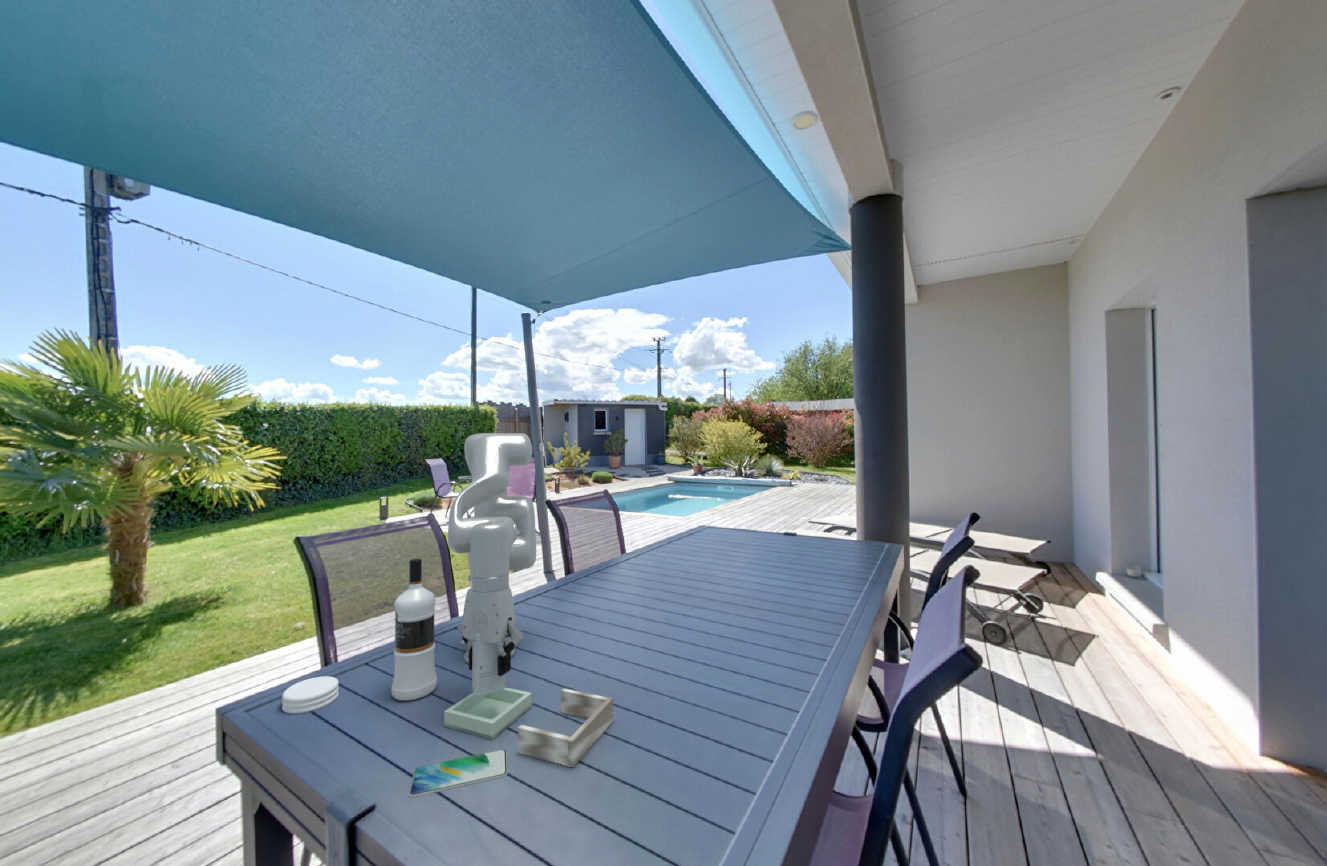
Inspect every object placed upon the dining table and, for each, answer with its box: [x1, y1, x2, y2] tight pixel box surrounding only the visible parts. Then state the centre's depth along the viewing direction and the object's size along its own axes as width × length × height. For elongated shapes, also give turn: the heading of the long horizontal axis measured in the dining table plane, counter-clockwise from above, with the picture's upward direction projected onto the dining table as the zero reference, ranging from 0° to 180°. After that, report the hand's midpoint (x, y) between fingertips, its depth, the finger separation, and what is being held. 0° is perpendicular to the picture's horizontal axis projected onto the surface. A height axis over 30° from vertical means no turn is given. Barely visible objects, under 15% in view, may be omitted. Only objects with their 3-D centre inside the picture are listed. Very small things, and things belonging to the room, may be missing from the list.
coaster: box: [281, 675, 340, 715], centre depth 105 cm, size 10×10×4 cm
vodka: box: [390, 557, 438, 702], centre depth 109 cm, size 9×9×30 cm
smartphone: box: [408, 749, 508, 799], centre depth 82 cm, size 7×1×15 cm
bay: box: [517, 688, 614, 768], centre depth 92 cm, size 12×15×4 cm
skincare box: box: [471, 633, 507, 696], centre depth 99 cm, size 6×4×12 cm
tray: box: [443, 687, 533, 741], centre depth 99 cm, size 12×12×3 cm
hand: (489, 669), depth 99 cm, fingers closed on skincare box, 6 cm apart
